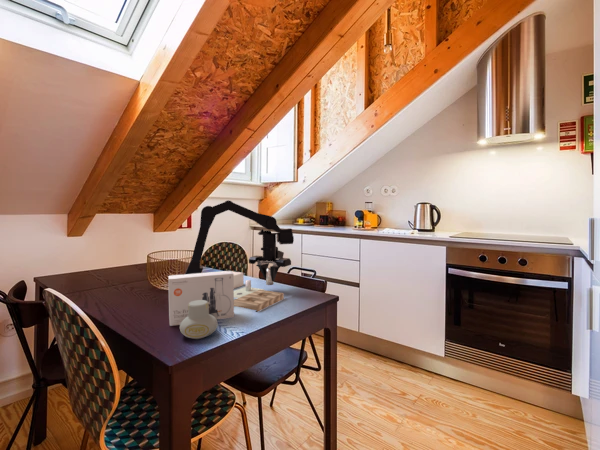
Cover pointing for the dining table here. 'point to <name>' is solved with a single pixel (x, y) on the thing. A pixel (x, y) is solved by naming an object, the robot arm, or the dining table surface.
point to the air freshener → (198, 321)
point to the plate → (245, 290)
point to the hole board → (259, 300)
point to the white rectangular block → (238, 279)
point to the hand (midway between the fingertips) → (269, 280)
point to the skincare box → (201, 294)
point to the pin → (268, 277)
